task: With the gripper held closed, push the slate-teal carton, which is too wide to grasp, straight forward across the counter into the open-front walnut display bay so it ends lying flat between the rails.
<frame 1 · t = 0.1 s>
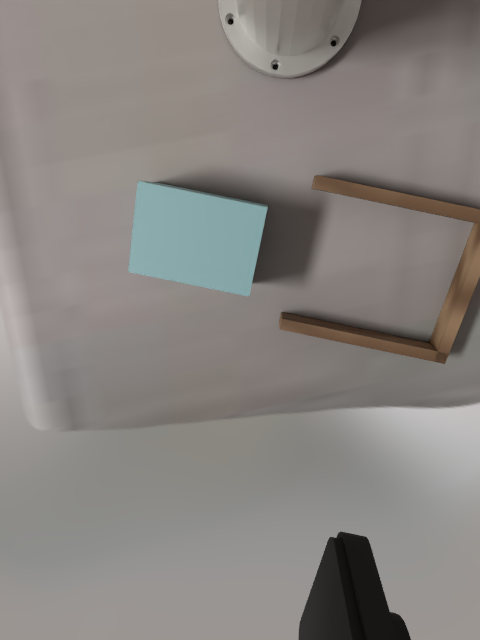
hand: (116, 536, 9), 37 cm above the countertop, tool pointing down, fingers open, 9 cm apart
display bay: (373, 269, 43), on the countertop
carton: (204, 233, 43), on the countertop
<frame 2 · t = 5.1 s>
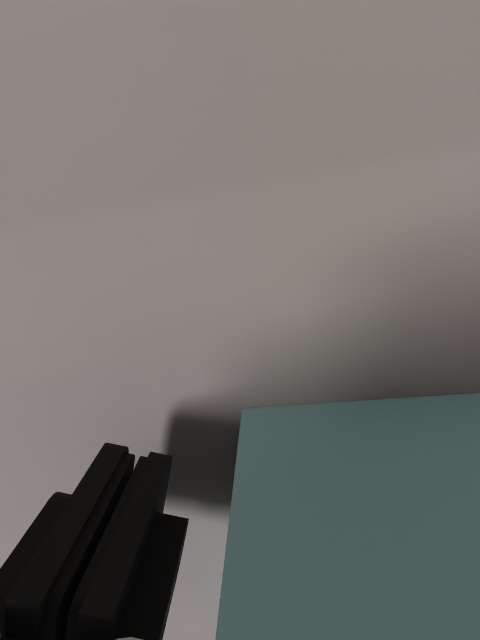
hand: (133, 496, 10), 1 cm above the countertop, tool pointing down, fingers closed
carton: (467, 519, 11), on the countertop, touching gripper
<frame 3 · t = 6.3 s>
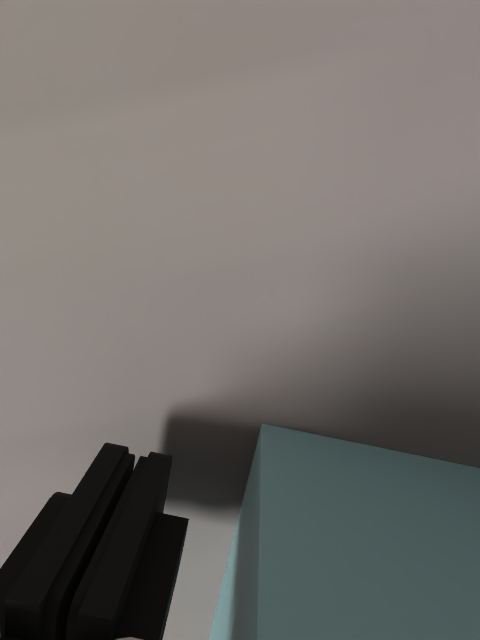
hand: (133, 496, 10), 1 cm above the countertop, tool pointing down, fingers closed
carton: (428, 580, 12), on the countertop, touching gripper
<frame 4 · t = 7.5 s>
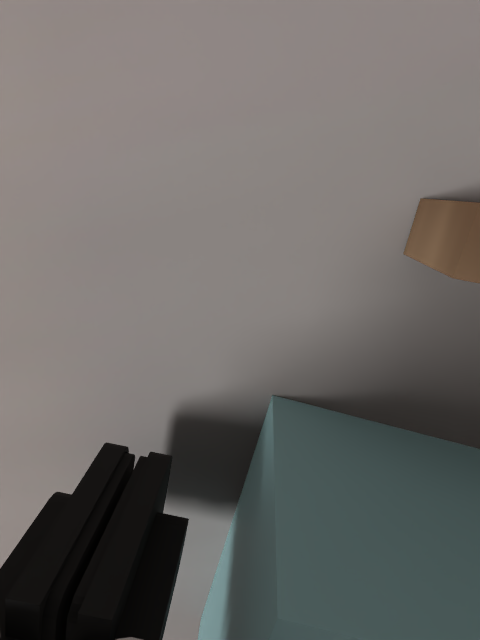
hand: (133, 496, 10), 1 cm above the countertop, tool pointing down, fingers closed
carton: (425, 558, 12), on the countertop, touching gripper
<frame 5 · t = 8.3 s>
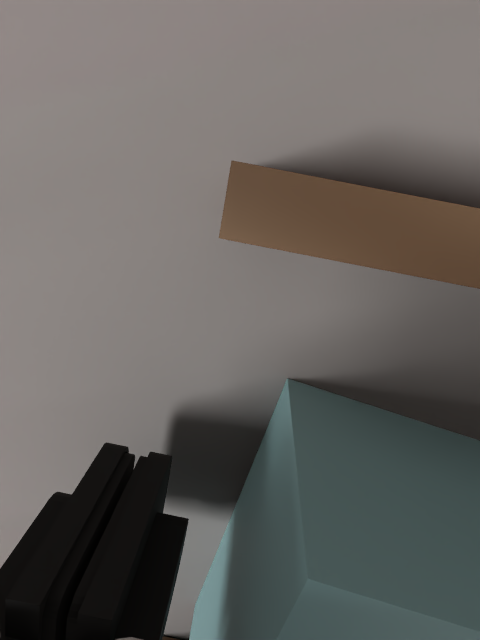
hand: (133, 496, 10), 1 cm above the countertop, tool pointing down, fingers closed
carton: (425, 551, 12), on the countertop, touching gripper
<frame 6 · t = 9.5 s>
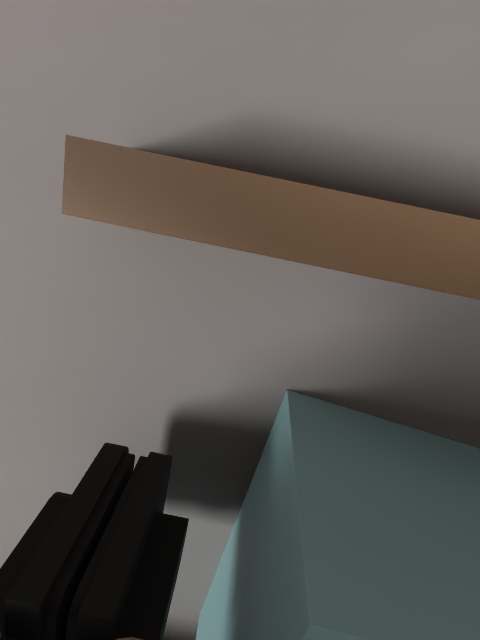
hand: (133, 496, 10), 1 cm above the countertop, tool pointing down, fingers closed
display bay: (395, 518, 11), on the countertop
carton: (431, 566, 12), on the countertop
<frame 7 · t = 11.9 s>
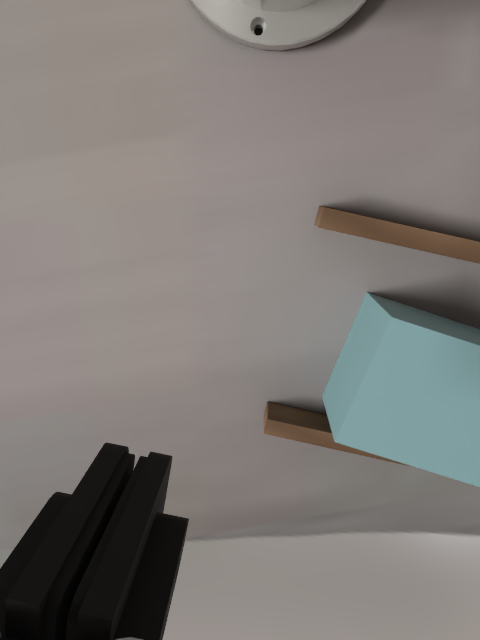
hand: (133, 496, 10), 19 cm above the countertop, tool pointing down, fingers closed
display bay: (405, 345, 29), on the countertop
carton: (420, 370, 29), on the countertop
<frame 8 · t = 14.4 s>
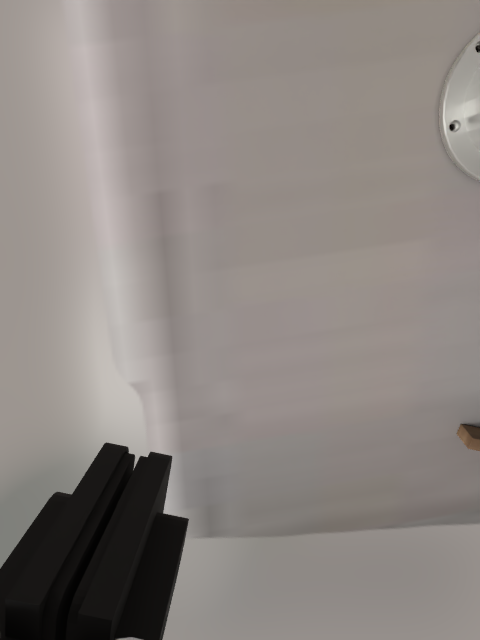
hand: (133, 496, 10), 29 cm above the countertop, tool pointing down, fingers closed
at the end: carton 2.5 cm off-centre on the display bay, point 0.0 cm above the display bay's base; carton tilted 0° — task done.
